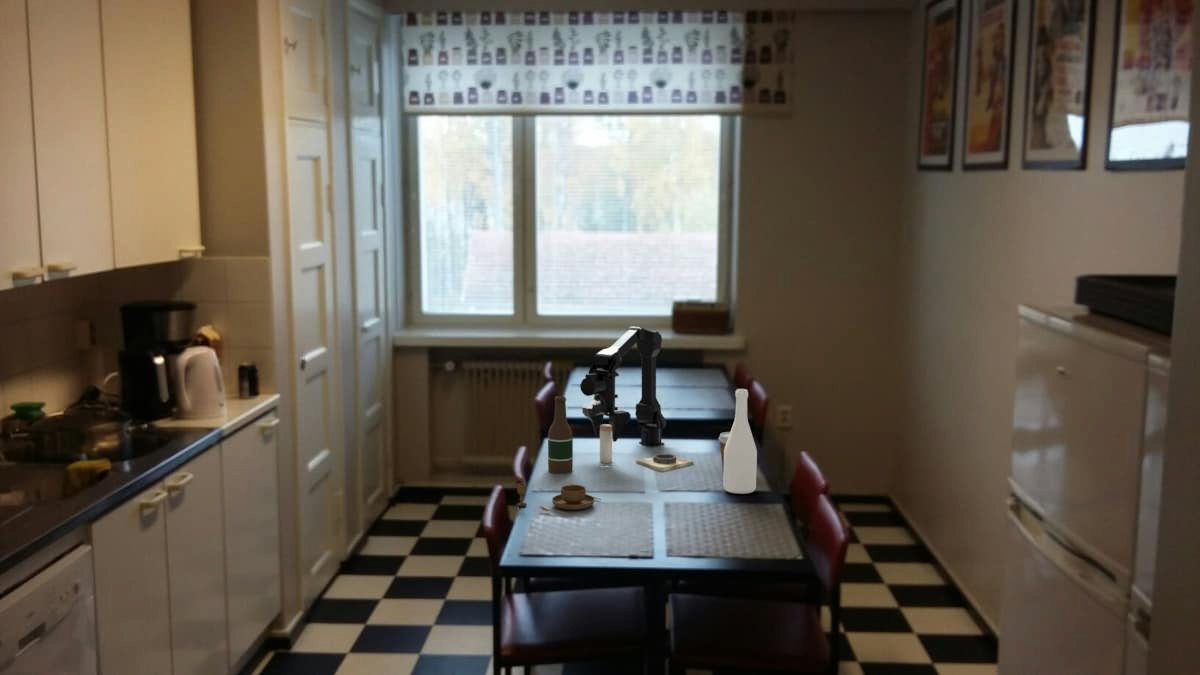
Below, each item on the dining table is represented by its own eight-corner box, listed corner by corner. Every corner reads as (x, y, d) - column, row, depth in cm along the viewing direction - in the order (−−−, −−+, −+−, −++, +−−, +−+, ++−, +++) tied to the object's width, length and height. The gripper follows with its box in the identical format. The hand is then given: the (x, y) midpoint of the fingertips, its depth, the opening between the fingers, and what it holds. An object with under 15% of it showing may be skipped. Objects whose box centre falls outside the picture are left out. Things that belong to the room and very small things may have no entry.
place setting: (575, 516, 272) (575, 495, 271) (513, 505, 281) (513, 485, 281) (606, 500, 287) (606, 480, 287) (546, 491, 297) (546, 471, 296)
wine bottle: (724, 494, 292) (727, 392, 288) (721, 485, 302) (724, 386, 298) (757, 494, 292) (760, 392, 288) (753, 485, 301) (756, 387, 298)
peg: (597, 461, 327) (597, 425, 326) (607, 459, 330) (607, 423, 328) (604, 463, 324) (604, 427, 323) (614, 462, 327) (614, 425, 325)
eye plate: (668, 458, 334) (669, 449, 334) (693, 466, 324) (693, 456, 324) (636, 464, 326) (636, 455, 325) (660, 472, 316) (660, 463, 316)
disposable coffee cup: (712, 470, 319) (712, 433, 318) (737, 467, 323) (738, 430, 322) (728, 477, 311) (728, 439, 309) (754, 474, 315) (755, 436, 313)
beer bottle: (574, 469, 320) (574, 394, 317) (571, 475, 312) (571, 399, 309) (549, 468, 320) (549, 394, 318) (546, 474, 313) (546, 398, 310)
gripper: (569, 389, 327) (569, 437, 329) (603, 398, 312) (603, 447, 314) (596, 386, 333) (596, 432, 335) (631, 394, 319) (631, 443, 320)
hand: (606, 438), depth 326 cm, fingers open, 9 cm apart
